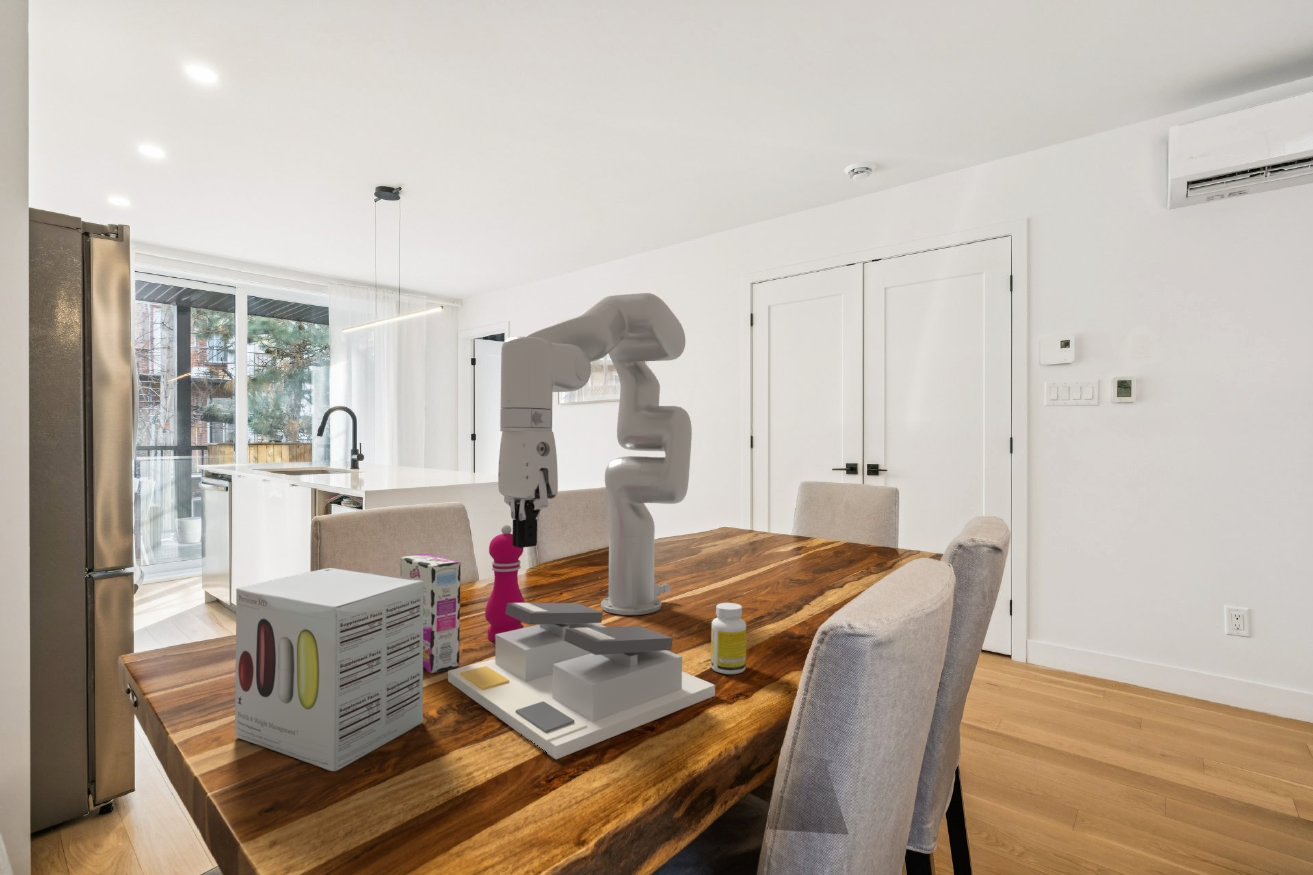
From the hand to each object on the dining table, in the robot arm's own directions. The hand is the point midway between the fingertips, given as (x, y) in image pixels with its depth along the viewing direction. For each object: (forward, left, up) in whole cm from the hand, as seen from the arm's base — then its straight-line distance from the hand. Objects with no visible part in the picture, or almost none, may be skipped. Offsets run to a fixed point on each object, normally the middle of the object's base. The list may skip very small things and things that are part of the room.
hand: (524, 545), depth 92 cm
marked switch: (-5, 0, -12) cm, 13 cm away
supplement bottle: (-26, +17, -20) cm, 37 cm away
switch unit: (-4, +8, -20) cm, 22 cm away
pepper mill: (-7, -19, -20) cm, 29 cm away
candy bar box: (+8, -16, -20) cm, 27 cm away
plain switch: (-5, +16, -12) cm, 20 cm away
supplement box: (+26, -1, -20) cm, 33 cm away
